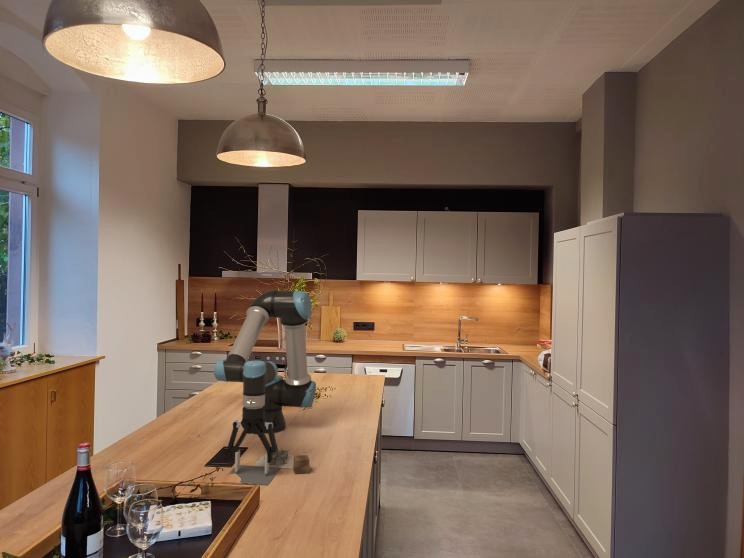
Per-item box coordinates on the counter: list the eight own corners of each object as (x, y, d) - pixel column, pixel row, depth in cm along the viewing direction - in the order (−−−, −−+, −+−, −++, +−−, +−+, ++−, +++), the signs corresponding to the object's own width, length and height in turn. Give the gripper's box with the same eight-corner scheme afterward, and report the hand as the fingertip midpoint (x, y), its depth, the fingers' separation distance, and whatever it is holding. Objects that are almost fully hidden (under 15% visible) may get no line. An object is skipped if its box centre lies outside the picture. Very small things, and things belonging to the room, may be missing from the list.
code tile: (253, 466, 190) (253, 465, 190) (263, 455, 202) (263, 454, 202) (291, 468, 189) (291, 468, 189) (299, 457, 201) (299, 456, 201)
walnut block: (294, 474, 184) (295, 460, 184) (293, 469, 188) (293, 455, 188) (309, 473, 185) (309, 459, 185) (307, 468, 190) (307, 454, 190)
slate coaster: (220, 482, 175) (220, 481, 175) (237, 465, 191) (237, 464, 191) (267, 485, 173) (267, 484, 173) (280, 467, 189) (280, 467, 189)
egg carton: (271, 455, 201) (272, 445, 201) (290, 457, 200) (291, 446, 200) (261, 465, 191) (262, 453, 191) (281, 466, 190) (282, 455, 190)
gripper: (218, 407, 179) (216, 473, 179) (282, 410, 177) (280, 477, 177) (226, 402, 187) (224, 465, 187) (288, 405, 185) (286, 469, 185)
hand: (251, 471), depth 182 cm, fingers open, 10 cm apart
